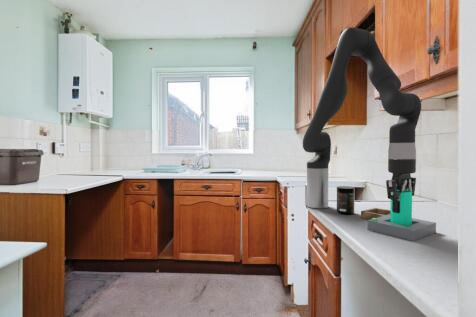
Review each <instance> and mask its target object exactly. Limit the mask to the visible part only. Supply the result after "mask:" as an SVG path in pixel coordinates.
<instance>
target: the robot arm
mask: <svg viewBox="0 0 476 317" xmlns="http://www.w3.org/2000/svg"><path fill="white" fill-rule="evenodd" d="M336 45H337V46H336V49H335V52H334V56H333V60H332V64H331V66H330V70H329V73H328V76H327V79H326V81H325V84H324V87H323V89H322V92H321V94H320V98H319V101H318V103H317V106H316V109H315V111H314V114H313V115H312V119H311V121H310V123H309V125H308V127H307V129H306V131H305V133H304V134H303V135H304V136H303V138H302V148H303V150H304V152H306V153H315V155H314V157H313V158H311V159H310V160H308V161H307V162H306V183H305V185H304V206H306V207H308V208H311V209H326V208H329V164H330V161H331V151H332V150H331V149H332V139H331V137H330V135H329V132H325V131H323V129H324V127H325V125H326V124H327V123H328V122H329V121H330V120H331V119H332V118H333V117H335V115H337V114H338V112H339V111H340V110H341V109H342V107H343V104H344V102H345V100H346V98H347V94H348V80H347V68H348V64H349V62H350V59H351V57H352V56H353V57H359V58H360V59H362V60H363V61H364V62H365V63H366V65H367V68H368V70H367V72H368V78H369V80H370V82H371V84H372V86H373V87H374V89H375V90H376V91H377V92H378V95H379V99H380V101H381V105H382V107H383V110H384V111H385V112H386V113H387V114H388V115H390V116H395V117H397V116H398V120H397V123H395V124H392V125H390V127H389V133H388V134H389V136H388V138H389V139H388V140H389V141H388V142H389V143H388V151H387V153H388V154H387V155H388V158H387V159H388V160H387V161H388V163H387V171H388V173H391V174H392V176H391V179H387V180H386V181H385V183H386V192H387V194H386V195H387V199H389V200H390V201H391V200H392V212H394V213H400V200H401V194H402V193H404V192H408V191H412V197H415V191H416V182H417V178H416V177H412V175H411V174H415V173H416V170H417V168H416V167H417V147H416V128H417V126H418V123H419V119H420V116H421V115H420V114H421V112H422V102H421V99H420V97H419V96H418V95H417V94H414V93H412V92H411V93H410V92H401V91H400V89H401V88H402V81H401V80H400V77H398V75H397V74H396V73H395V72H394V70H393V69H392V68H391V67H390V65H389V63H387V61H386V59H385V57H384V56H383V54H382V52H381V49H380V48H379V45H378V43H377V41H376V39H375V37H374V35H373V34H372V32H371V31H369V30H367V29H363V28H357V27H353V26H349V27H347V28H345V29H344V30H343V31H342V33H341V35H340V36H339V39H338V42H337V44H336ZM398 190H400V191H398ZM391 192H392V195H391ZM397 193H398V195H397Z"/></svg>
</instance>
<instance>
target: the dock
mask: <svg viewBox="0 0 476 317" xmlns="http://www.w3.org/2000/svg"><path fill="white" fill-rule="evenodd" d="M367 230H369V231H372V232H375V233H379V234H383V235H389V236H391V237H395V238H396V237H397V238H400V239H405V240H408V241H413V242H415V241H418V240H420V239H423V238H425V237H428V236H431V235H433V234H435V233H437V222H434V221H428V220H423V219H418V218H412V225H410V226H405V225H400V224H395V223H391V222H390V214H389V215H386V216H382V217H378V218H372V219H371V220H369V219H367Z"/></svg>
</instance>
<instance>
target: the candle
mask: <svg viewBox="0 0 476 317" xmlns="http://www.w3.org/2000/svg"><path fill="white" fill-rule="evenodd" d="M398 191H400V190H398ZM391 195H392V192H391ZM397 195H398V193H397ZM389 207H390V209H389V210H390V222H391V223H395V224H400V225H405V226H410V225H412V217H413V214H412V213H413V196H412V191H408V192H404V193H402V194H401V200H400V213H394V212H392V200H391V199H390V206H389Z"/></svg>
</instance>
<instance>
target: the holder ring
mask: <svg viewBox="0 0 476 317" xmlns="http://www.w3.org/2000/svg"><path fill="white" fill-rule="evenodd" d="M389 214H390V209H386V208H385V209H384V208H379V207H372V208H369V209H365V210H361V211H360V218H361V219H365V220H371V219H372V218H378V217H382V216H386V215H389Z"/></svg>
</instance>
